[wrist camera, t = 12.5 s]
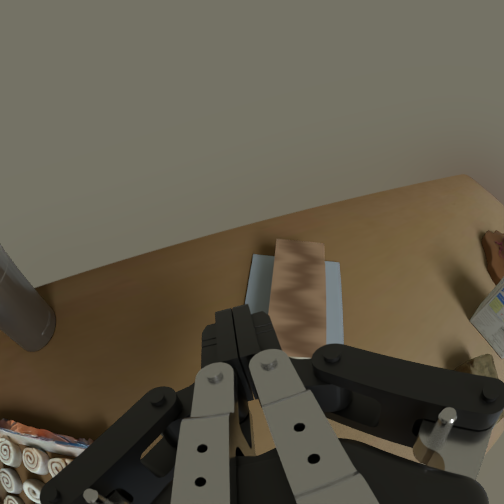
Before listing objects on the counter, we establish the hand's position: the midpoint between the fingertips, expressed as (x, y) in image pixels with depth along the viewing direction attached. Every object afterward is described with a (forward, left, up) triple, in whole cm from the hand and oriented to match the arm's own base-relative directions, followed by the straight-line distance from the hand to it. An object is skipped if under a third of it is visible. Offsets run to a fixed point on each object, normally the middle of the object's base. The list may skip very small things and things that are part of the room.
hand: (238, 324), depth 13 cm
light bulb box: (+43, +5, -24) cm, 50 cm away
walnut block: (+5, +5, -21) cm, 22 cm away
